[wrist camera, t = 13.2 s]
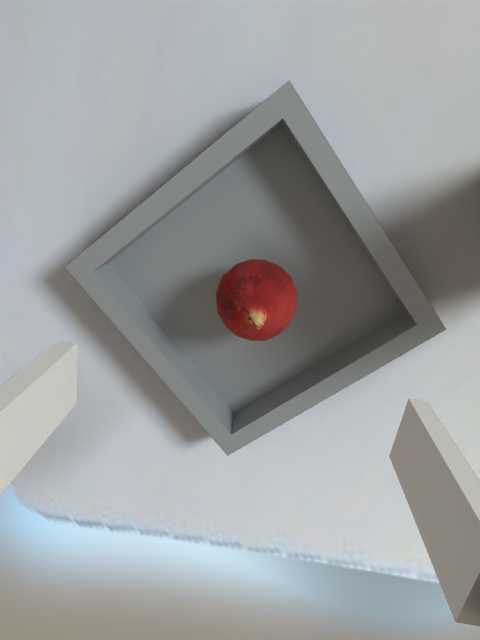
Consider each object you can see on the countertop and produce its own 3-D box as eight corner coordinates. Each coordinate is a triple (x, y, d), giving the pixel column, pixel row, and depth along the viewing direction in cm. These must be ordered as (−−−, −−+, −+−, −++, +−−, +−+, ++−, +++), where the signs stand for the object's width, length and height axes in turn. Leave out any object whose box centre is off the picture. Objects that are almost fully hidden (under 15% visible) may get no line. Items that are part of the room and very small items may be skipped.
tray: (87, 256, 34) (64, 267, 31) (287, 91, 29) (289, 80, 26) (232, 428, 39) (227, 455, 35) (427, 311, 34) (446, 329, 30)
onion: (211, 305, 34) (195, 342, 27) (236, 239, 32) (227, 259, 25) (276, 330, 35) (279, 374, 27) (305, 267, 33) (317, 295, 25)
